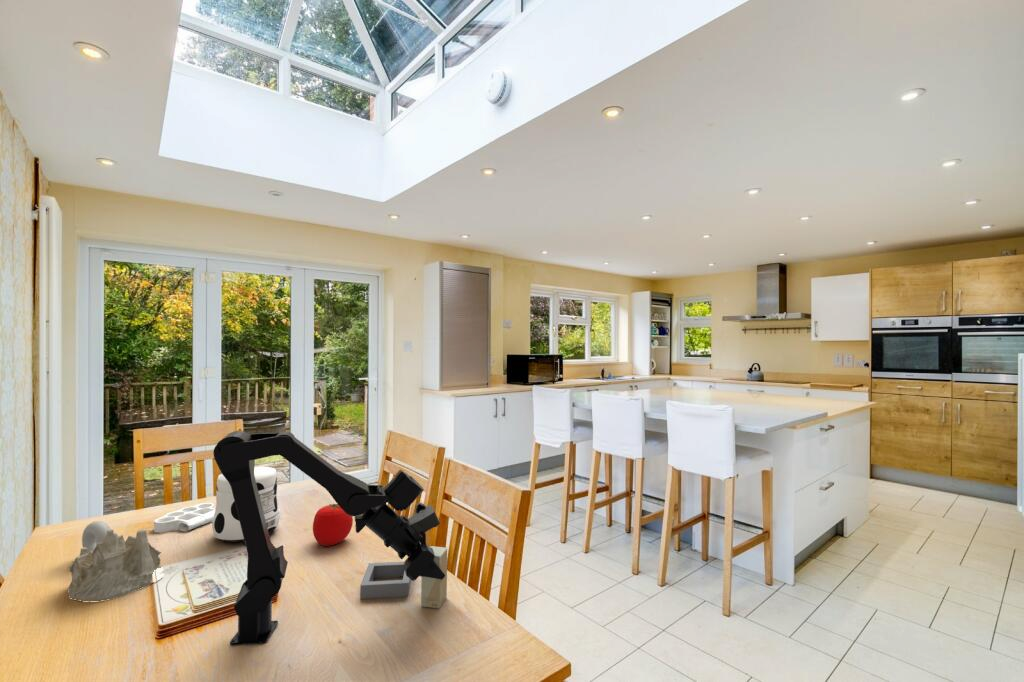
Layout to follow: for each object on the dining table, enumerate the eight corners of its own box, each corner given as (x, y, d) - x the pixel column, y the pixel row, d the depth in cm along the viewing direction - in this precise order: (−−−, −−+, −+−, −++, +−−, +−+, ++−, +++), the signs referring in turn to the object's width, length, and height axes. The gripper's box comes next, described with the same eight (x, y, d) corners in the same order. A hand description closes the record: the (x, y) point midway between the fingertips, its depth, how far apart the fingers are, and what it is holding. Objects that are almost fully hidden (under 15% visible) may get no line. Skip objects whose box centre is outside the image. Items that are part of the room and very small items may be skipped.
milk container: (219, 527, 143) (220, 468, 143) (282, 520, 149) (283, 463, 149) (204, 551, 127) (205, 484, 127) (276, 542, 133) (277, 478, 133)
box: (439, 609, 100) (439, 557, 100) (420, 606, 101) (420, 555, 101) (447, 596, 105) (447, 546, 105) (429, 594, 106) (429, 545, 106)
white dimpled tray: (178, 537, 136) (142, 531, 140) (232, 516, 153) (198, 511, 158) (178, 526, 136) (142, 520, 140) (232, 505, 153) (198, 501, 158)
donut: (78, 559, 121) (79, 520, 121) (94, 553, 125) (95, 516, 125) (100, 566, 117) (100, 526, 117) (116, 561, 121) (116, 522, 121)
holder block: (408, 596, 105) (408, 582, 105) (360, 598, 104) (360, 585, 104) (412, 573, 115) (412, 561, 115) (368, 575, 114) (368, 563, 114)
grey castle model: (172, 577, 112) (168, 515, 112) (81, 613, 98) (77, 541, 98) (146, 564, 121) (142, 506, 121) (59, 595, 107) (55, 529, 107)
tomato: (303, 548, 129) (303, 508, 129) (327, 533, 139) (327, 496, 139) (337, 552, 127) (337, 512, 127) (358, 536, 137) (359, 499, 137)
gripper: (424, 511, 93) (477, 558, 97) (411, 484, 111) (456, 525, 114) (383, 557, 90) (439, 604, 94) (375, 522, 108) (423, 563, 112)
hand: (440, 570), depth 104 cm, fingers closed on box, 6 cm apart
